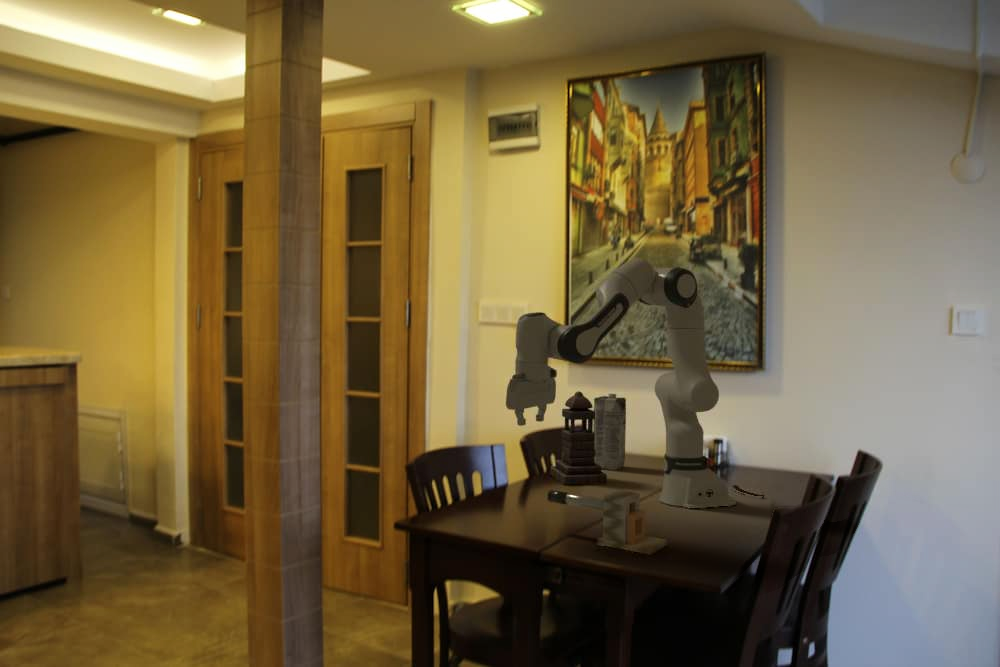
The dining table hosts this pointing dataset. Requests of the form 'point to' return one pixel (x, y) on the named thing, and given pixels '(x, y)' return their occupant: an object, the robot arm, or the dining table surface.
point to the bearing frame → (624, 523)
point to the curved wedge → (745, 491)
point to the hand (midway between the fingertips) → (530, 423)
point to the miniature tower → (578, 446)
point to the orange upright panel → (639, 520)
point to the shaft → (575, 500)
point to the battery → (610, 431)
